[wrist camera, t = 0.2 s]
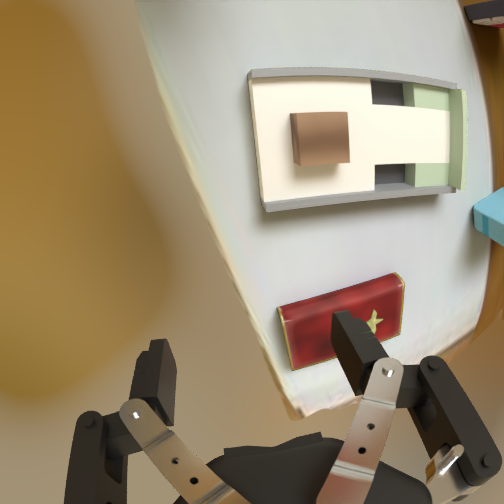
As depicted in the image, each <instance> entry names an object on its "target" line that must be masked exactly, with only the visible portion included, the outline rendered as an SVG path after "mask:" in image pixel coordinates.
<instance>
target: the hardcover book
mask: <svg viewBox="0 0 504 504" xmlns="http://www.w3.org/2000/svg"><path fill="white" fill-rule="evenodd" d="M404 289H405V283H404V281H403V280H402V278H401V277H400V276H399V275H398V274H397V273H395V272H394V273H391V274H388V275H385V276H382V277H379V278H376V279H372V280H369V281H366V282H363V283H360V284H356V285H353V286H350V287H347V288H343V289H340V290H337V291H333V292H330V293H326V294H323V295H319V296H316V297H312V298H309V299H305V300H302V301H298V302H295V303H291V304H287V305H284V306H280V307H277V310H278V313H279V316H280V319H281V323H282V327H283V332H284V337H285V341H286V346H287V351H288V356H289V360H290V365H291V370H292V371H294V370H298V369H301V368H305V367H308V366H311V365H315V364H318V363H321V362H325V361H328V360H331V359H334V358H337V356H336V354H335V352H334V350H333V347H332V344H331V323H332V314H333V313H335V312H340V311H345V310H348V311H349V312H350V314H351V315H352V317H353V318H354V319H356V318H360V319H362V320H363V321H365V322H366V323H367V324H368V325H369V327H370V328H371V330H372V332H373V333H374V334H375V337H376V338H377V339H378V341H379V342H383V341H386V340H388V339H391V338H393V337H396V336H398V335H400V332H401V323H402V313H403V302H404Z"/></svg>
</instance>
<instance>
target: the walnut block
mask: <svg viewBox="0 0 504 504" xmlns="http://www.w3.org/2000/svg"><path fill="white" fill-rule="evenodd" d="M290 123H291V134H292V146H293V159H294V163H295V164H297V165H299V166H300V167H302V166H313V165H325V164H339V163H350V148H349V128H348V112H305V113H290Z"/></svg>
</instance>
